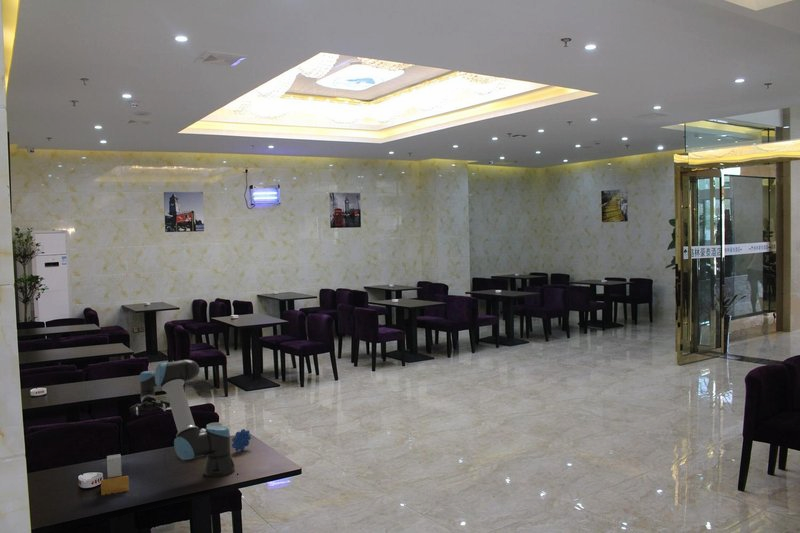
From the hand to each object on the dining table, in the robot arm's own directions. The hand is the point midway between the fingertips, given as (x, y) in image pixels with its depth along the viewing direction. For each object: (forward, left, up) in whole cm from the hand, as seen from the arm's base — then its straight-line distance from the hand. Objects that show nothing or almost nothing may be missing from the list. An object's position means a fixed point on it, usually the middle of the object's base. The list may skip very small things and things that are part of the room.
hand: (151, 410), depth 337 cm
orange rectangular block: (-18, +27, -30) cm, 44 cm away
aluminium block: (-17, +27, -26) cm, 42 cm away
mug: (+11, -43, -30) cm, 53 cm away
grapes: (-15, -45, -30) cm, 56 cm away
